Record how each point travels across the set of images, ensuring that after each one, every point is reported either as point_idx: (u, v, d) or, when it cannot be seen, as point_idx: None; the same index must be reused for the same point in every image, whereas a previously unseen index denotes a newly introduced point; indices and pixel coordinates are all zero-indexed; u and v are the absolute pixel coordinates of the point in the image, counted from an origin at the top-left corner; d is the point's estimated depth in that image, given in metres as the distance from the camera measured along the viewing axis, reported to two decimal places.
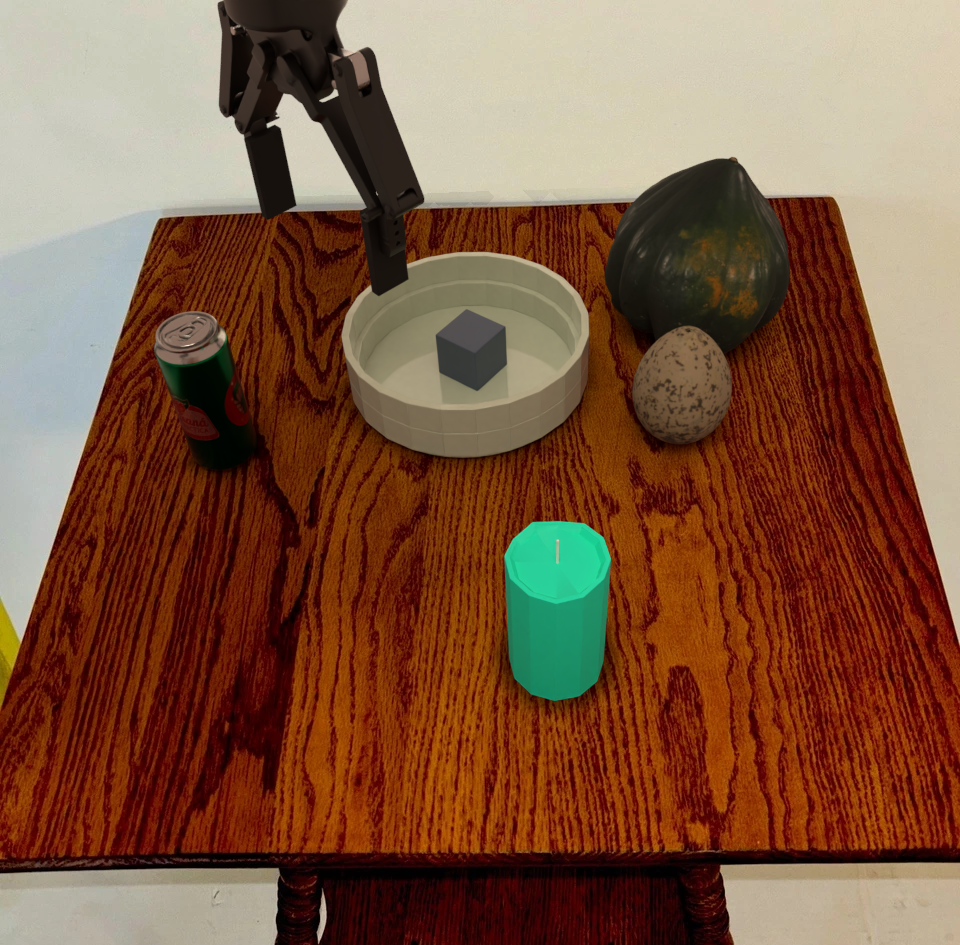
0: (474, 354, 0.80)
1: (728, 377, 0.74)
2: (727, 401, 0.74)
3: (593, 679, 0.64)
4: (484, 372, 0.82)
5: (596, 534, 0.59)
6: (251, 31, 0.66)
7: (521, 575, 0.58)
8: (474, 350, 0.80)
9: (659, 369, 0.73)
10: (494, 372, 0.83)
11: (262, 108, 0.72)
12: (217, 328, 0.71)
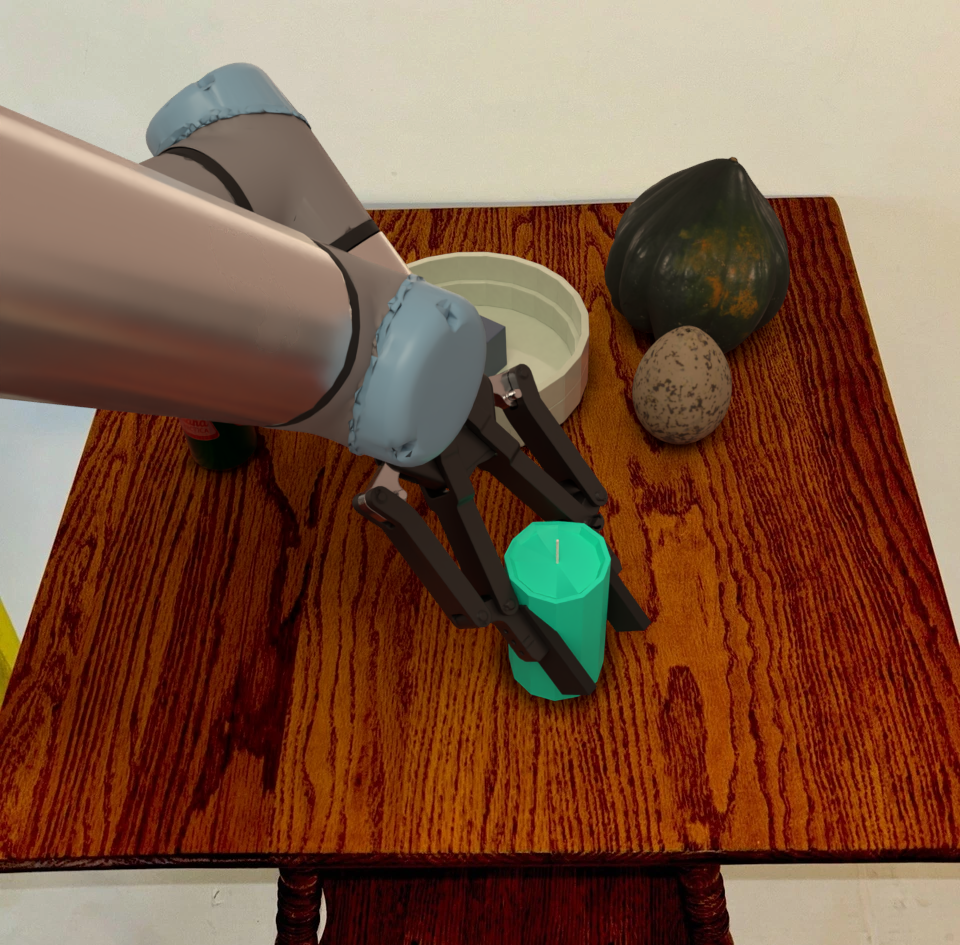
0: None
1: (728, 377, 0.74)
2: (727, 401, 0.74)
3: (593, 679, 0.64)
4: (484, 372, 0.82)
5: (596, 534, 0.59)
6: None
7: (520, 575, 0.58)
8: None
9: (659, 369, 0.73)
10: (494, 372, 0.83)
11: None
12: None
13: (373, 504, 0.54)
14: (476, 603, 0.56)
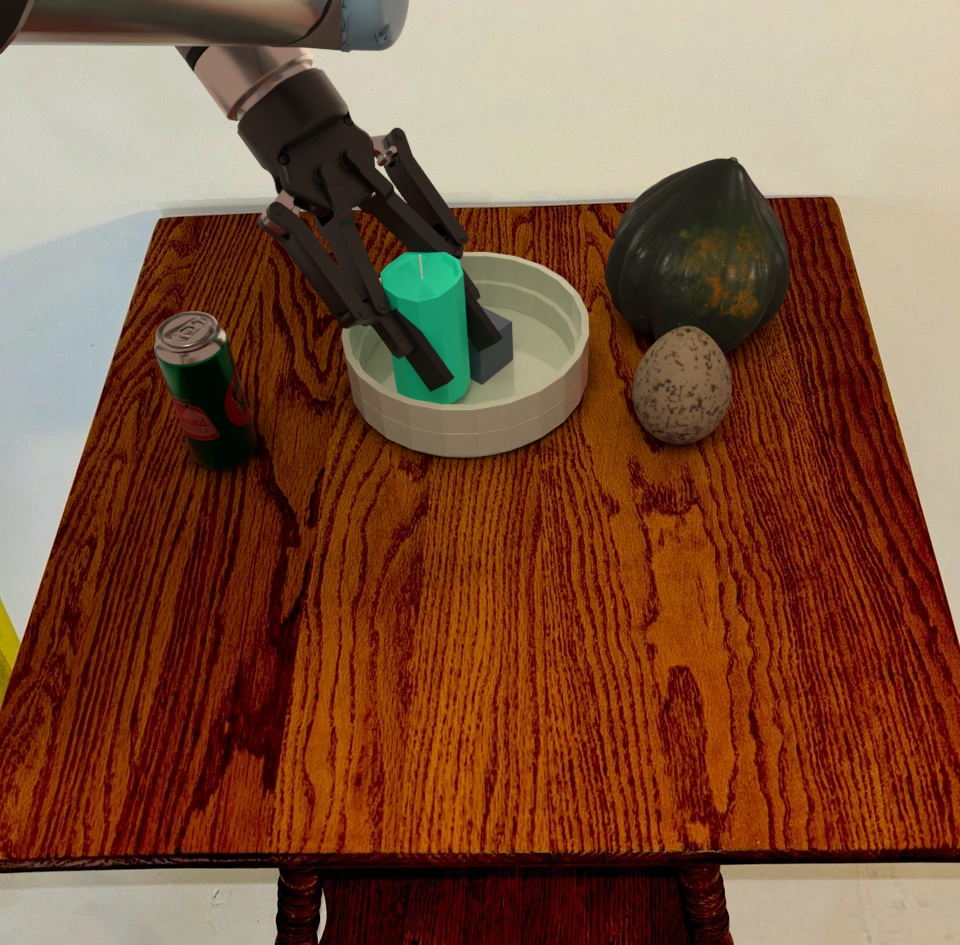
0: None
1: (728, 377, 0.74)
2: (727, 401, 0.74)
3: (460, 390, 0.80)
4: (489, 366, 0.82)
5: (453, 258, 0.75)
6: (298, 180, 0.71)
7: (393, 286, 0.74)
8: None
9: (659, 369, 0.73)
10: (500, 366, 0.84)
11: None
12: (217, 328, 0.71)
13: (271, 214, 0.70)
14: (354, 300, 0.72)
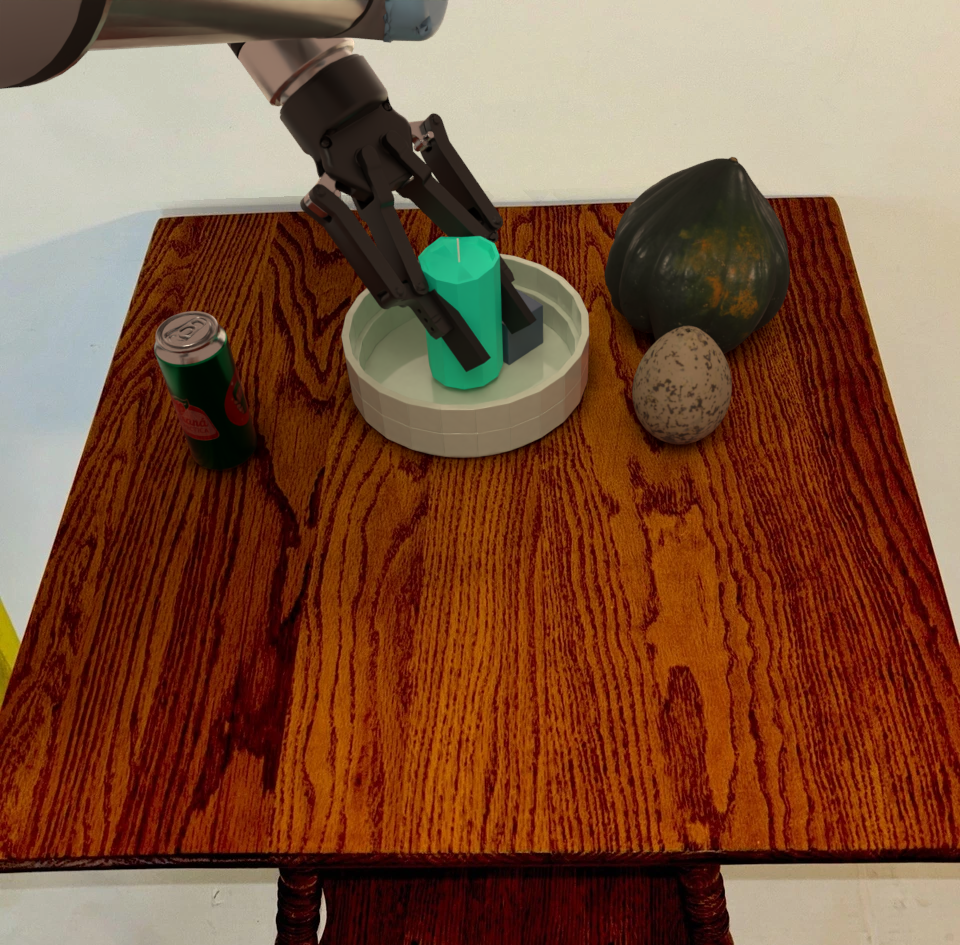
0: (507, 328, 0.82)
1: (728, 377, 0.74)
2: (727, 401, 0.74)
3: (494, 372, 0.82)
4: (517, 347, 0.84)
5: (489, 241, 0.77)
6: (340, 163, 0.73)
7: (431, 270, 0.76)
8: None
9: (659, 369, 0.73)
10: (528, 349, 0.85)
11: None
12: (217, 328, 0.71)
13: (314, 196, 0.72)
14: (394, 281, 0.74)
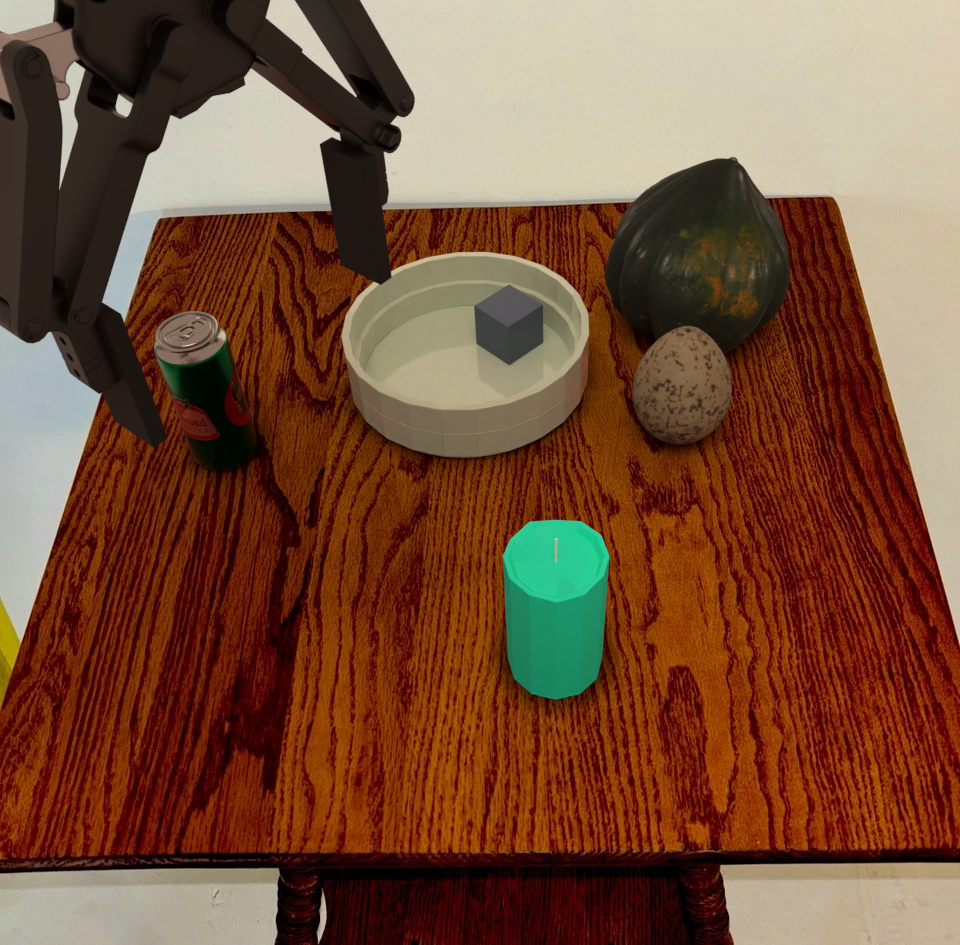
0: (507, 327, 0.82)
1: (728, 377, 0.74)
2: (727, 401, 0.74)
3: (593, 676, 0.64)
4: (517, 347, 0.84)
5: (593, 532, 0.59)
6: (113, 43, 0.33)
7: (520, 575, 0.58)
8: (508, 324, 0.82)
9: (659, 369, 0.73)
10: (528, 349, 0.85)
11: None
12: (217, 328, 0.71)
13: (12, 66, 0.31)
14: (40, 305, 0.36)
